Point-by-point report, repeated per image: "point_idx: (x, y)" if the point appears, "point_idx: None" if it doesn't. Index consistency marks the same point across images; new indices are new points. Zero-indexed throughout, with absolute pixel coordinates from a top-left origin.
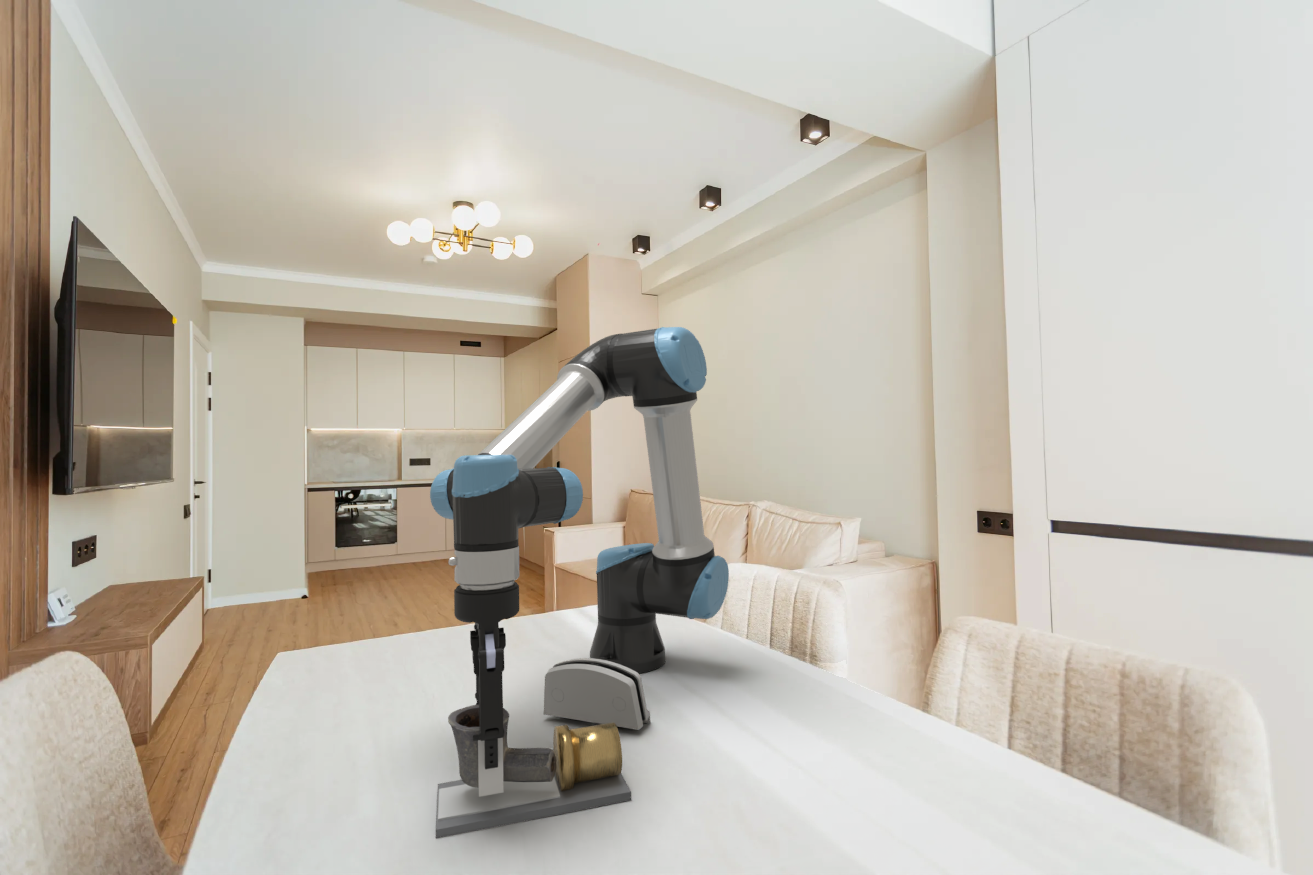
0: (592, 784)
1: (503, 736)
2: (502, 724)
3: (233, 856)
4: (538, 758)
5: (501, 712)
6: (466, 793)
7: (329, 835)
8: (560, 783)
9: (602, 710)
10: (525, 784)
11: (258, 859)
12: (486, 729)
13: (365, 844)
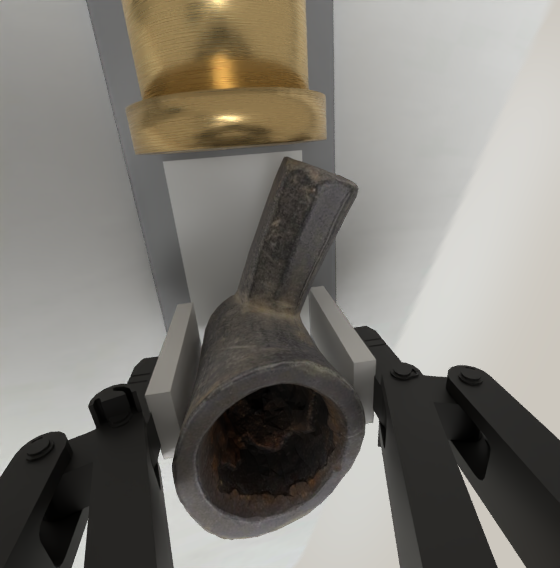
0: None
1: (308, 344)
2: (514, 400)
3: (290, 552)
4: (342, 218)
5: (553, 441)
6: None
7: None
8: (271, 145)
9: None
10: (230, 231)
11: (304, 531)
12: (480, 436)
13: None
